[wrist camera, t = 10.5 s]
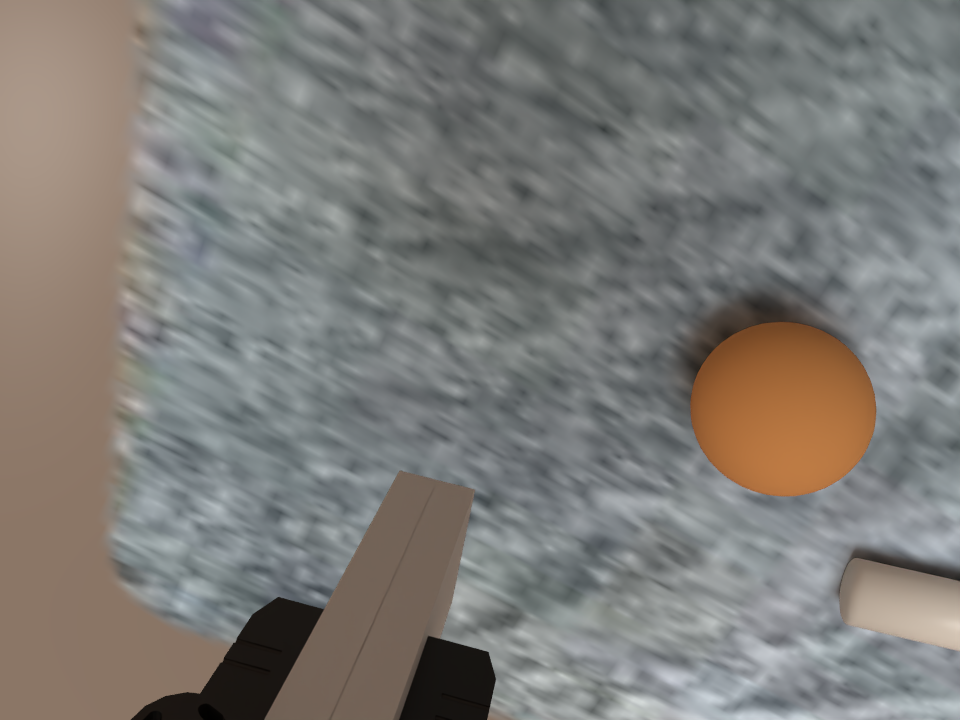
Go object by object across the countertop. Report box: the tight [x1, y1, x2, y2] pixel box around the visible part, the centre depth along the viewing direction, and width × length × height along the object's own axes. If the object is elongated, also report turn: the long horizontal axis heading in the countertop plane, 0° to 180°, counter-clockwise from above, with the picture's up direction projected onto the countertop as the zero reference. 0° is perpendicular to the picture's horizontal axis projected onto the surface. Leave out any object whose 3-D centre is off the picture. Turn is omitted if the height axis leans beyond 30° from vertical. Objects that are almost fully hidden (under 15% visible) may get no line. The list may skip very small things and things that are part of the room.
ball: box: [690, 322, 876, 496], centre depth 26 cm, size 6×6×6 cm
